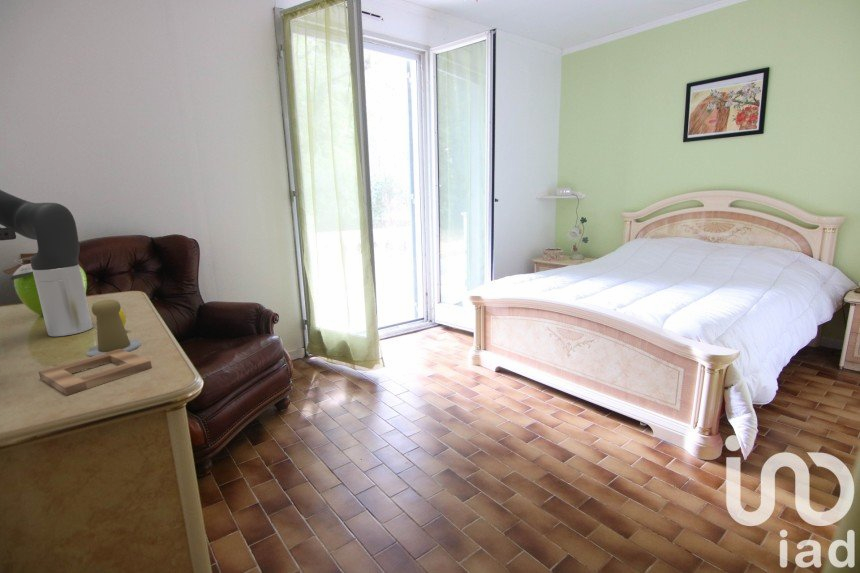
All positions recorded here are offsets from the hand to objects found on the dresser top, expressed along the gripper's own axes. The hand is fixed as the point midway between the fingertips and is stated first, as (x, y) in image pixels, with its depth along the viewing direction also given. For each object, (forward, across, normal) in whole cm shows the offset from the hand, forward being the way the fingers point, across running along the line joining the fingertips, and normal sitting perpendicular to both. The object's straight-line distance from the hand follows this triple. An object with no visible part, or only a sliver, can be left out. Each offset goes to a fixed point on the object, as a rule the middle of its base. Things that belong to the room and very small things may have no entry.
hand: (8, 232), depth 83 cm
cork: (+13, -1, +28) cm, 30 cm away
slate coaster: (+13, 0, +28) cm, 31 cm away
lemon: (+18, +13, +28) cm, 36 cm away
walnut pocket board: (+5, -13, +28) cm, 31 cm away
